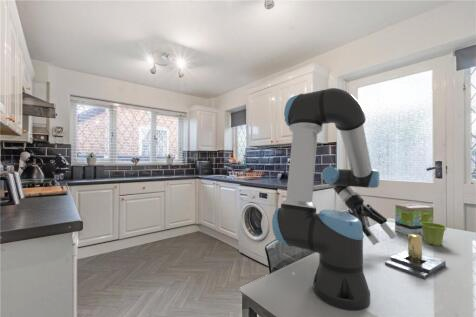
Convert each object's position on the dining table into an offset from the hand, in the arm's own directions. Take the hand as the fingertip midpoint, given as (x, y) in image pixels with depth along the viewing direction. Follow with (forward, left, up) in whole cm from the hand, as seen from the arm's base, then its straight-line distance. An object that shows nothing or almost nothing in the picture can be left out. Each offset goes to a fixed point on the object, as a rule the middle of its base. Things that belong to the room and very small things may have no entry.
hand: (385, 240), depth 92 cm
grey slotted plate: (+2, -10, -6) cm, 12 cm away
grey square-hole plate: (-2, -10, -6) cm, 12 cm away
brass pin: (0, -10, -6) cm, 12 cm away
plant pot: (+34, -4, -6) cm, 35 cm away
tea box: (+45, +8, -6) cm, 46 cm away
